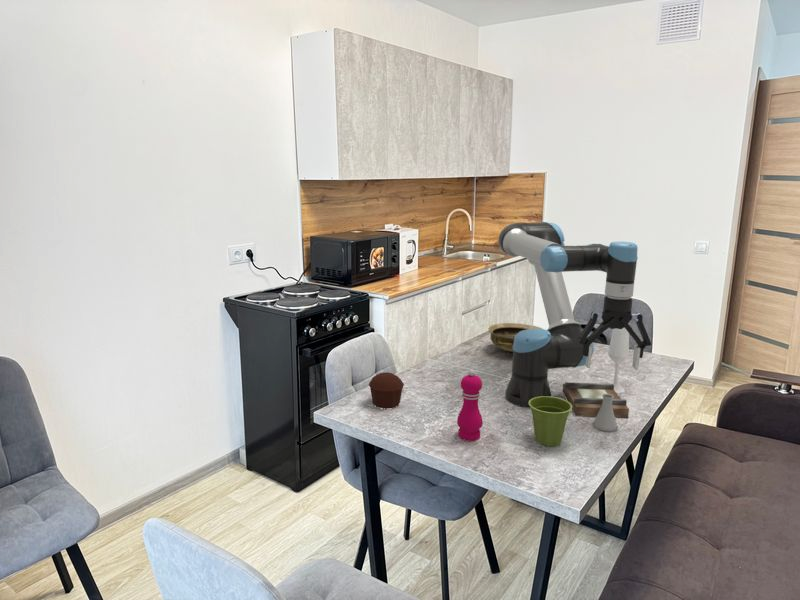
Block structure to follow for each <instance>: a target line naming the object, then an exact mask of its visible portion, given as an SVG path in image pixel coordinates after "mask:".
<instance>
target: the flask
mask: <svg viewBox="0 0 800 600" xmlns="http://www.w3.org/2000/svg"><path fill="white" fill-rule="evenodd" d="M602 396H603V402H602V406H601V408H600V410H599V412H598V414H597V416H596V417H594V420H593V422H592V426H593V428H594V429H597V430H600V431H603V432H610V433H611V432H615V431H617V430H618V425H617V421H616V417H615V416H614V412H613V407H612V400H613V398H614V396H613V395H610V394H603V395H602Z"/></svg>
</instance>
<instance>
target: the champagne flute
mask: <svg viewBox="0 0 800 600" xmlns="http://www.w3.org/2000/svg"><path fill="white" fill-rule="evenodd" d="M607 353H608V357H609V358H610V359H611V360H612V361H613V362H614V363H615V364H614V365H615V366H614V367H615V368H614V378H613V383H612V384H613V385H614V391H615V392H616V393H617V394H622V393H625V392H626V391H625V388H623V387H621V386H620V385H619V384H618V380H619V371H620V370H619V369H620V364H622V363H623V362H626V360H627V359H628V357H629V356H630V334H629V333H628V331H627V330H626V329H625V328H622V329H617V328H616V329H612V332H611V337H610V342H609V348H608V351H607Z"/></svg>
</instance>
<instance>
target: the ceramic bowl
mask: <svg viewBox="0 0 800 600" xmlns="http://www.w3.org/2000/svg"><path fill="white" fill-rule="evenodd" d="M527 329H543V328H542V327H539V326H536V325H533V324H532V325H531V324H526V323H515V322H502V323H501V322H500V323H494V324H492V325H490V326H489V327H488V331H489V333H490V340H491V342H492V343H493V344H494V345H495V346H496V347H497V348H499V349H502V350H503V351H505V353H506V352H507V353H506V354H508V353H509V354H508V355H511V354H512V355H511V356H513V344H514V338H515V336H516V334H517V333H519V332H520V331H523V330H527Z"/></svg>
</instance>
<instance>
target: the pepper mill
mask: <svg viewBox="0 0 800 600" xmlns="http://www.w3.org/2000/svg"><path fill="white" fill-rule="evenodd" d="M482 382H483V381H482V379H481V377H479V376H478V375H476V372H475V371H474V370H473V369H470V370H469V371H468V374H466V375H465V376H463V377H462V378H461V380H460V388H461V390H462V391H461V396H462V398H463V400H462V401H463V403H462V406H461V409H460V412H459V413H458V415H457V418H456V419H457V420H456V424H457V426H458V427H459V428H458V431H457V433H458V437H459V439H461V440H464V441H467V440H468V442H473V441H474V440H475V441H478V440H479V439H480V438H481V430H480V429H481V428H482V427H483V417H482V414H481V412H480V408H479V399H480V398H481V392H480V391H481V390H482V387H483V383H482ZM477 439H478V440H477Z"/></svg>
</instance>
